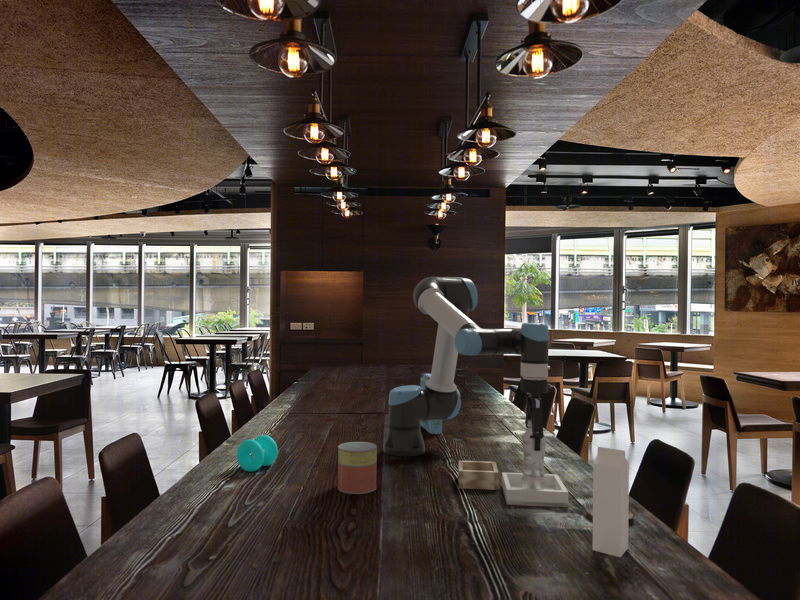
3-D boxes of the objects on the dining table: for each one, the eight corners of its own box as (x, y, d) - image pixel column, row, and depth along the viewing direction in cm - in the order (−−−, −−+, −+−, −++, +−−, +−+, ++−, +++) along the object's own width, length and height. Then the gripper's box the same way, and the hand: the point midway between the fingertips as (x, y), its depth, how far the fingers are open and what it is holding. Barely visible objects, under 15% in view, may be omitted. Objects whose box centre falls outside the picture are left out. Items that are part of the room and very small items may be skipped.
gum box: (419, 425, 255) (419, 373, 255) (430, 424, 256) (430, 373, 257) (431, 434, 236) (431, 379, 236) (442, 434, 237) (443, 378, 238)
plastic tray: (506, 504, 153) (507, 489, 153) (501, 486, 169) (502, 472, 169) (568, 507, 152) (568, 492, 152) (557, 488, 168) (557, 474, 168)
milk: (600, 541, 130) (601, 443, 130) (628, 548, 126) (629, 447, 127) (592, 550, 125) (592, 448, 125) (620, 558, 121) (621, 453, 122)
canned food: (382, 484, 170) (382, 443, 170) (367, 496, 159) (368, 452, 159) (347, 480, 173) (347, 440, 174) (330, 491, 163) (331, 448, 163)
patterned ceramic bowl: (610, 530, 137) (610, 499, 137) (574, 514, 148) (574, 485, 148) (645, 522, 143) (645, 492, 143) (608, 507, 153) (608, 479, 153)
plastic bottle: (546, 496, 157) (547, 423, 157) (520, 494, 158) (522, 421, 159) (545, 489, 163) (546, 419, 164) (520, 487, 165) (522, 417, 165)
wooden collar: (458, 488, 167) (458, 470, 167) (458, 476, 178) (458, 460, 178) (498, 489, 166) (498, 472, 166) (495, 478, 177) (495, 461, 177)
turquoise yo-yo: (279, 466, 187) (279, 435, 187) (259, 474, 178) (260, 442, 178) (254, 462, 191) (255, 432, 191) (234, 470, 182) (234, 438, 182)
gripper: (555, 383, 149) (554, 468, 149) (541, 373, 172) (540, 447, 172) (526, 383, 150) (525, 467, 149) (516, 372, 173) (515, 446, 173)
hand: (533, 456), depth 161 cm, fingers open, 11 cm apart
